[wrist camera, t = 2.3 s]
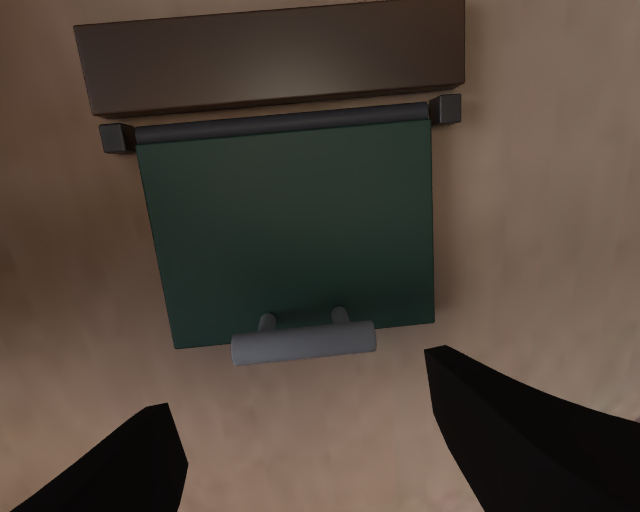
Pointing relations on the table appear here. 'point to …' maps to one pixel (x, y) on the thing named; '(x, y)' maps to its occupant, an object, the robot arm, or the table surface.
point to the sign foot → (272, 60)
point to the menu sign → (292, 228)
